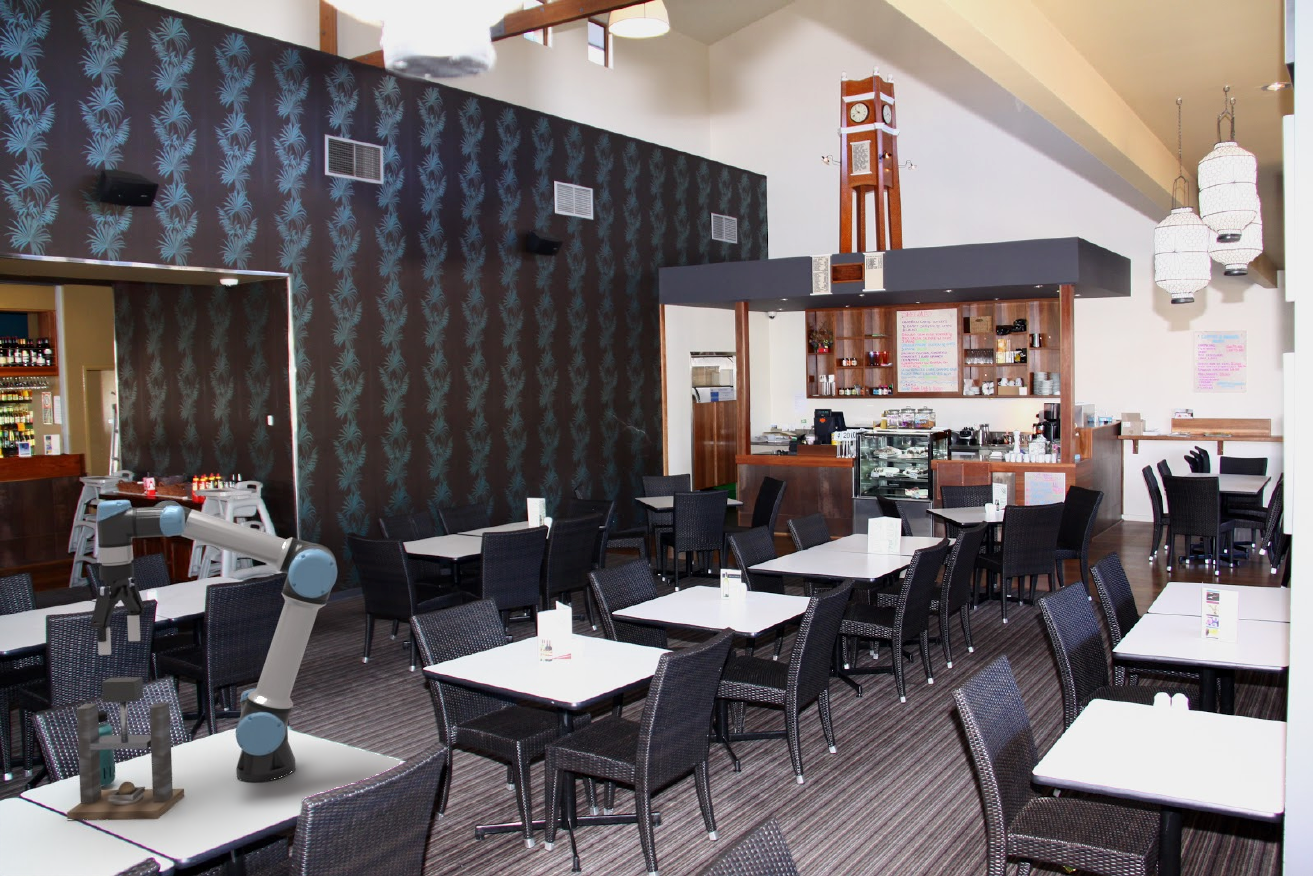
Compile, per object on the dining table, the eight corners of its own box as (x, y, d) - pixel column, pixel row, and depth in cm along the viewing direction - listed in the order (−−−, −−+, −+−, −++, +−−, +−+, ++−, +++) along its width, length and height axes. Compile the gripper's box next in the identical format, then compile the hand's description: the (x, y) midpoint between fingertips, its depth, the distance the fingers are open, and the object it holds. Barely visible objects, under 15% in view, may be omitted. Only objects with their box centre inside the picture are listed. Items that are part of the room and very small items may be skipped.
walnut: (137, 793, 255) (137, 779, 255) (130, 799, 252) (129, 784, 252) (123, 793, 255) (123, 779, 255) (116, 799, 252) (115, 785, 252)
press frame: (184, 796, 261) (180, 696, 260) (157, 818, 247) (153, 713, 246) (98, 797, 261) (94, 697, 260) (67, 820, 247) (62, 715, 246)
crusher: (158, 740, 256) (156, 675, 255) (146, 748, 250) (144, 682, 249) (103, 741, 256) (100, 676, 255) (90, 749, 250) (87, 683, 249)
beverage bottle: (103, 793, 264) (100, 717, 263) (81, 791, 265) (78, 716, 264) (121, 783, 270) (118, 709, 269) (100, 782, 272) (97, 708, 271)
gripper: (127, 555, 264) (131, 635, 265) (71, 571, 239) (75, 660, 240) (156, 554, 264) (160, 635, 265) (103, 571, 239) (107, 660, 240)
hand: (120, 647), depth 252 cm, fingers open, 13 cm apart
